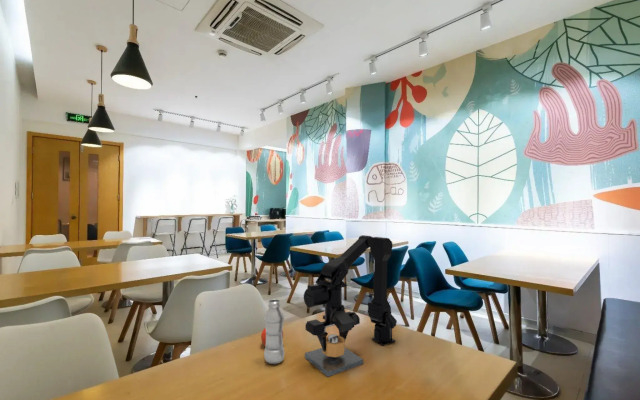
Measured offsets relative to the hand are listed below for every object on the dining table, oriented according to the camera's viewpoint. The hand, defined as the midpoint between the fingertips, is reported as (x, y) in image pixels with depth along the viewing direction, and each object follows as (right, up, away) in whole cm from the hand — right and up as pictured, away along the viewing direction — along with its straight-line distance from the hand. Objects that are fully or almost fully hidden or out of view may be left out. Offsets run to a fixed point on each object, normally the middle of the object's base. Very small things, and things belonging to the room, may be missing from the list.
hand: (333, 348), depth 99 cm
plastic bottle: (-20, -4, -1) cm, 20 cm away
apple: (-22, -5, +11) cm, 25 cm away
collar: (0, -1, 0) cm, 1 cm away
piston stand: (0, -4, 0) cm, 4 cm away
